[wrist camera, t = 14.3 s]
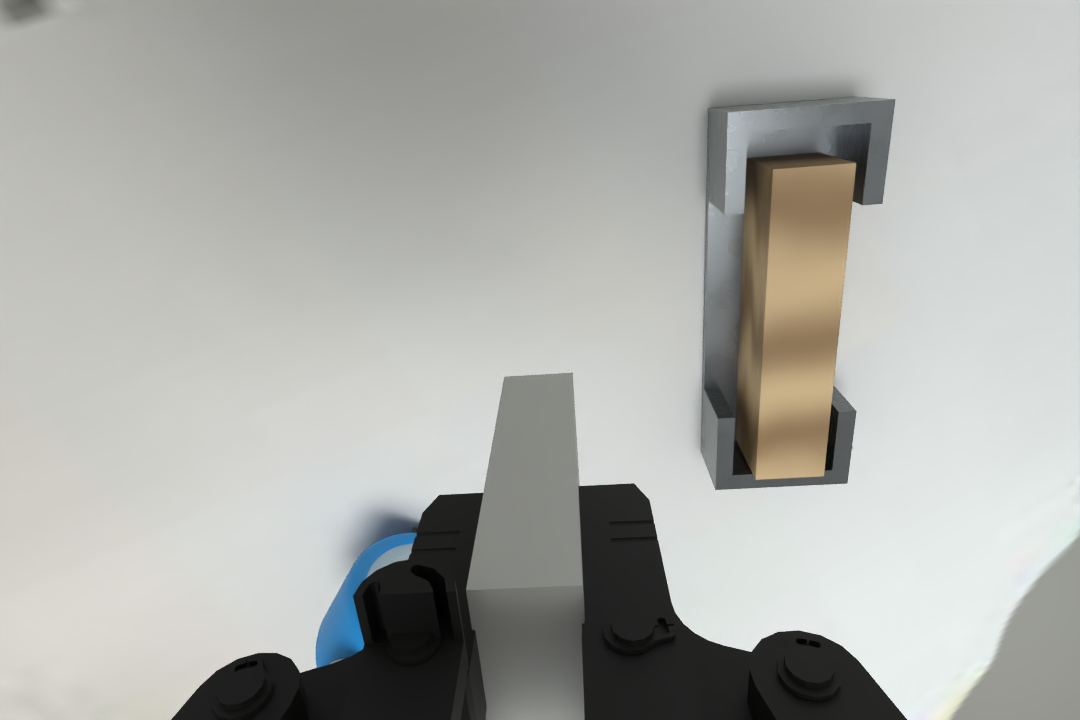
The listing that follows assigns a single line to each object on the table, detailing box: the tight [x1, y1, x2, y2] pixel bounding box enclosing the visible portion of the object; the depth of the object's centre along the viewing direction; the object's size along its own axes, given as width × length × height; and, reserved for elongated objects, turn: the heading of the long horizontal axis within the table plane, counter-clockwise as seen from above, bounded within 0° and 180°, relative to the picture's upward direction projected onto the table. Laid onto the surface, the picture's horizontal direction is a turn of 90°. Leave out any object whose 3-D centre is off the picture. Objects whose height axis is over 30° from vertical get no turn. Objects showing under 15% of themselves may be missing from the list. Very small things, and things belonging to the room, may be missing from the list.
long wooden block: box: [735, 152, 856, 480], centre depth 38 cm, size 18×4×5 cm, turn 5°
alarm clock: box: [316, 528, 486, 720], centre depth 43 cm, size 13×6×15 cm, turn 61°
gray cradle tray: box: [701, 97, 895, 490], centre depth 39 cm, size 22×8×5 cm, turn 4°
